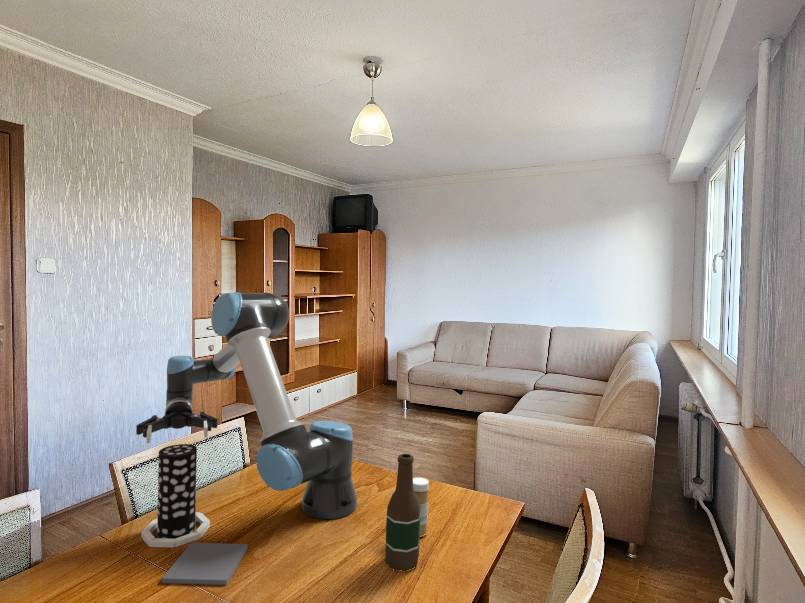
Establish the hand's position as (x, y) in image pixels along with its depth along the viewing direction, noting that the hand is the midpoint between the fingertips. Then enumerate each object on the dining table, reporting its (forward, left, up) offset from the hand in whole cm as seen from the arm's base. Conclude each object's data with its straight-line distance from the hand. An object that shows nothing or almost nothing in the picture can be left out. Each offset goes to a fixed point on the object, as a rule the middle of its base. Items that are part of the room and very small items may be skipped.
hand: (177, 435), depth 120 cm
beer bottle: (-59, +19, -21) cm, 66 cm away
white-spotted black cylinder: (-4, +9, -21) cm, 23 cm away
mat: (-17, +22, -21) cm, 35 cm away
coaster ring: (-4, +9, -21) cm, 23 cm away
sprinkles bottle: (-63, +7, -21) cm, 67 cm away
